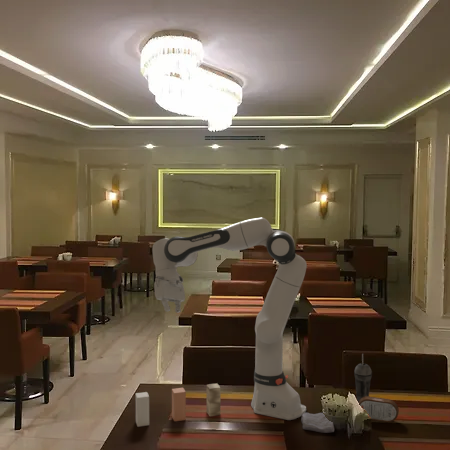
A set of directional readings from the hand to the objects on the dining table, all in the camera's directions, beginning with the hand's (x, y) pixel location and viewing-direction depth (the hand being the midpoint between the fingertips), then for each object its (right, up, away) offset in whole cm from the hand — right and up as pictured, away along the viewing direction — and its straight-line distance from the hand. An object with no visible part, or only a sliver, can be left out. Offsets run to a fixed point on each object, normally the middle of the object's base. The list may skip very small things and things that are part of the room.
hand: (173, 311), depth 206 cm
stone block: (+55, -41, -14) cm, 70 cm away
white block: (-10, -40, -12) cm, 43 cm away
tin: (+79, -40, -8) cm, 89 cm away
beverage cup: (+78, -39, +10) cm, 88 cm away
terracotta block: (+3, -40, -7) cm, 41 cm away
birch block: (+16, -40, -3) cm, 43 cm away
